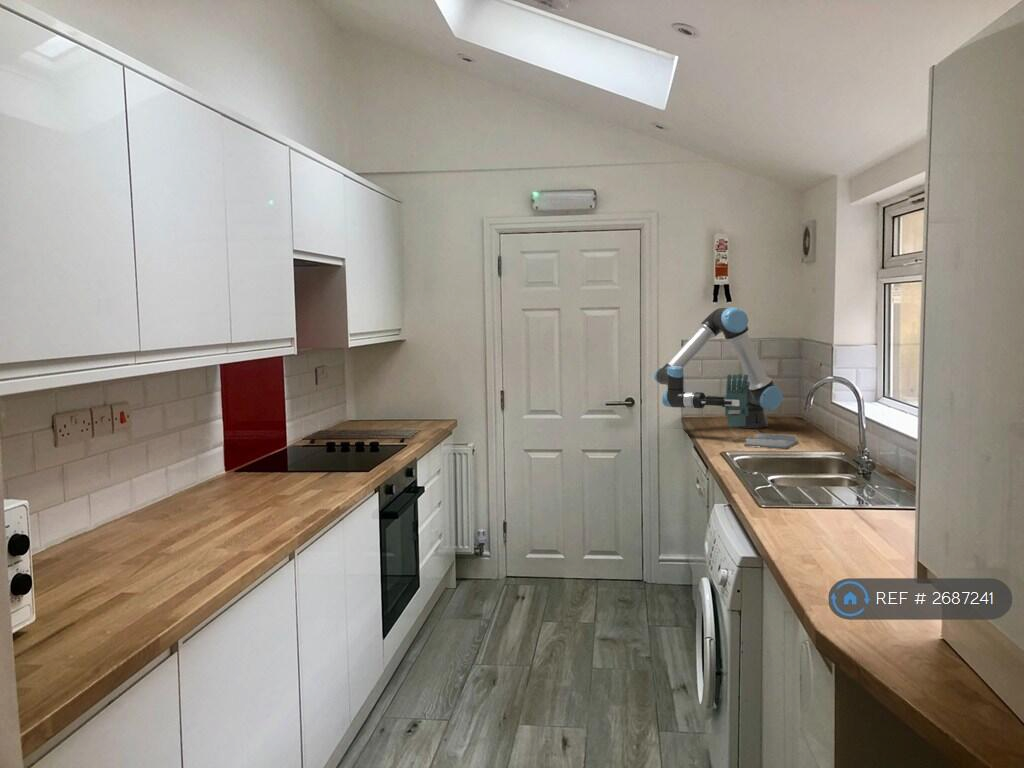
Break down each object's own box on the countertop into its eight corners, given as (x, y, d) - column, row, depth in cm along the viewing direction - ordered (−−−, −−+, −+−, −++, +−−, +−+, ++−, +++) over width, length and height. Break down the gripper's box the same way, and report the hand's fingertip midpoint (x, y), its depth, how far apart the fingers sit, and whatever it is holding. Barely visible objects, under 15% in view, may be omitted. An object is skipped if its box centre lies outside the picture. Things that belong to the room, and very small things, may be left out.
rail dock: (757, 440, 367) (757, 432, 367) (798, 442, 357) (798, 435, 357) (744, 446, 353) (744, 438, 352) (785, 449, 342) (785, 441, 342)
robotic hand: (714, 429, 368) (719, 379, 358) (716, 418, 377) (720, 370, 367) (746, 432, 365) (752, 383, 354) (747, 422, 374) (752, 373, 363)
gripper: (703, 405, 387) (750, 407, 373) (686, 410, 370) (734, 413, 357) (703, 390, 386) (750, 391, 373) (685, 394, 369) (734, 396, 356)
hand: (742, 402), depth 365 cm, fingers closed on robotic hand, 8 cm apart
